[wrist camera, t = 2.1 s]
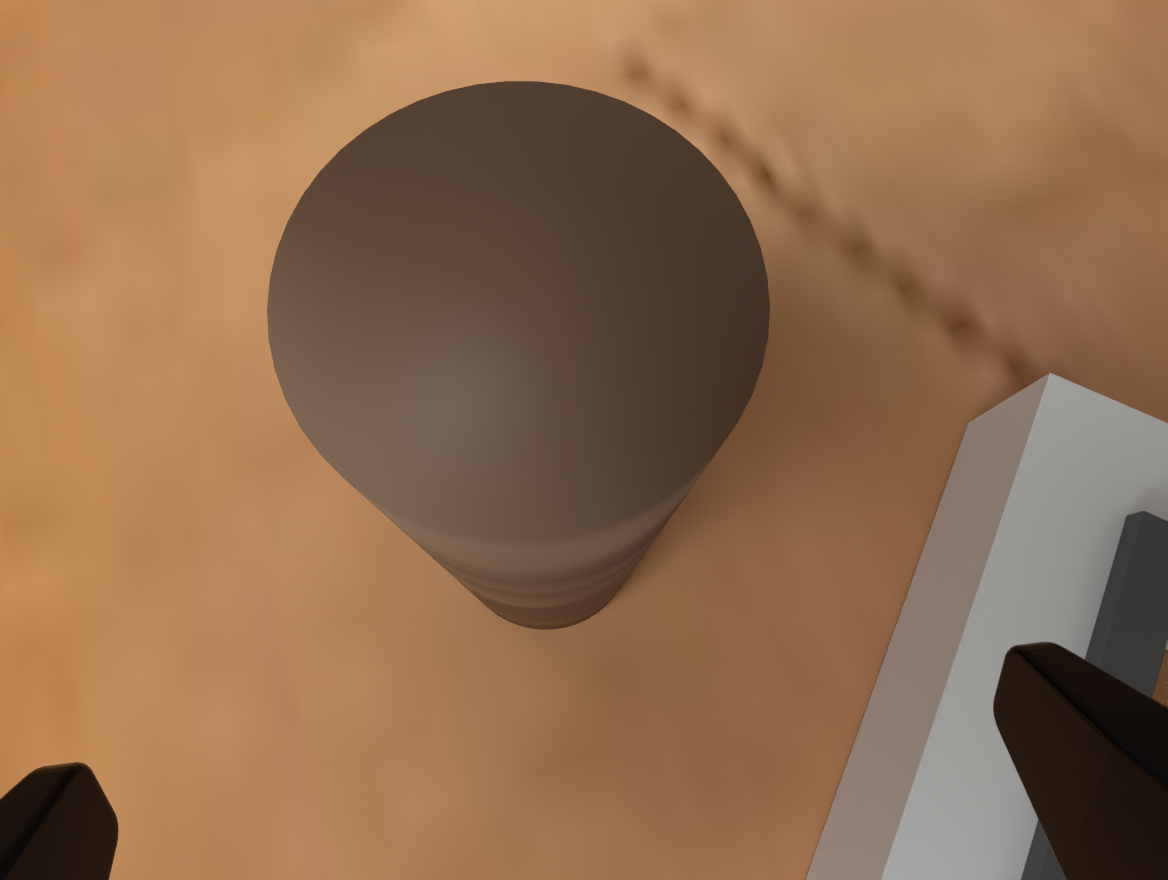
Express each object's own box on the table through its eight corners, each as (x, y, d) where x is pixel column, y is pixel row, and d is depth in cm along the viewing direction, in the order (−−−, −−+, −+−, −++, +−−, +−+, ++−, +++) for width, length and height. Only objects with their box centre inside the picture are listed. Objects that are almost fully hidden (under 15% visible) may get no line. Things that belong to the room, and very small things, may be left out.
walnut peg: (588, 660, 18) (646, 634, 6) (428, 582, 19) (167, 403, 6) (660, 500, 19) (841, 192, 7) (507, 429, 20) (418, 15, 7)
